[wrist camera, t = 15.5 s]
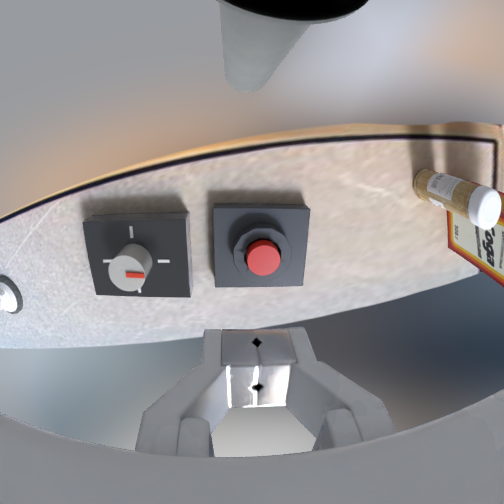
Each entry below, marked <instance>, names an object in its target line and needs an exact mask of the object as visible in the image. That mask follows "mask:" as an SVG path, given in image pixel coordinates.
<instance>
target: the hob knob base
mask: <svg viewBox="0 0 504 504" xmlns="http://www.w3.org/2000/svg"><path fill="white" fill-rule="evenodd" d="M83 228H84V235H85V241H86V247H87V252H88V258H89V263H90V268H91V273H92V277H93V282H94V286H95V291H96V295H111V296H139V297H191V294H192V289H193V276H192V261H191V243H190V222H189V212H167V213H133V214H108V215H92V216H91V217H89V218H88V219H86V220H85V221H84V222H83ZM128 244H138V245H141V246H143V247H144V248H145V249H146V250H147V251H148V252H149V253H150V255H151V258H152V268H151V270H150V272H149V274H148V276H147V278H146V280H145V282H144V284H143V285H142V287H141V288H139V289H138V290H135V291H124V290H122V289H120V288H118V287H117V286H116V285H115V284H114V283H113V282H112V281H111V279H110V276H109V271H108V269H109V264H110V262H111V261H112V260H113V258H114V257H115V256H116V255H117V253H118V252H119V251H120V250H121V249H122V248H123V247H124V246H125V245H128Z"/></svg>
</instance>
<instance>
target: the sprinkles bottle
mask: <svg viewBox="0 0 504 504" xmlns="http://www.w3.org/2000/svg"><path fill="white" fill-rule="evenodd" d="M414 191H415V193H416V195H417V196H418V197H419V198H420V199H422V200H426V201H429V202H431V203H433V204H434V205H437V206H439V207H441V208H444V209H446V210H448V211H450V212H452V213H455V214H458V215H460V216H462V217H464V218H466V219H468V220H470V221H471V222H472V223H473V224H474V225H476V226H478V227H480V228H482V229H485V230H487V229H490V228H492V227H493V226H494V225H495V224H496V223H497V221H498V219H499V216H500V213H501V198H500V196H499V194H498V192H497V191H496V190H494V189H492V188H490V187H487V186H480V185H476V184H473V183H471V182H468V181H466V180H463V179H460V178H457V177H454V176H450V175H447V174H443V173H438V172H434V171H432V170H430V169H423V170H421V171H420V172H419V173H418V174H417V175H416V177H415V180H414Z"/></svg>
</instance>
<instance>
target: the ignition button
mask: <svg viewBox="0 0 504 504" xmlns="http://www.w3.org/2000/svg"><path fill="white" fill-rule="evenodd" d="M246 257H247V264H248V267H249V269H250V270H251V271H252V272H253V273H255V274H257V275H261V276H265V275H269V274H272V273H273V272H275V271H276V270H277V268H278V267H279V265H280V254H279V252H278V249H277V247H276V246H275V244H274V243H272V242H271V241H268V240H257V241H255V242H253V243H252V244H251V245H250V246H249V247H248V249H247V253H246Z"/></svg>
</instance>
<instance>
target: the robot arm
mask: <svg viewBox="0 0 504 504" xmlns="http://www.w3.org/2000/svg"><path fill="white" fill-rule="evenodd" d="M284 405H286V406H285V407H286V408H287V409H288V410H289V411H290V412H291V413H292V414H293V415H294V416H295V417H296V418H297V419H298V420H299V421H300V422H301V423H302V424H303V425H304V426H305V427H306V428H307V429H308V430H309V431H310V432H311V433H312V434H313V435H314V436H315V437H316V438H317V439H316V442H315V444H314V447H313V449H312V451H310V452H302V453H294V454H284V455H272V456H258V457H214V451H213V444H212V438H211V434H212V432H213V431H214V429H215V428H216V426H217V425H218V424H219V422H220V421H221V420H222V418H223V417H224V415H225V414H226V413H227V411H228V410H229V408H239V407H257V406H258V407H259V406H284ZM0 504H504V389H502V390H501V391H499V392H497V393H495V394H493V395H491V396H489V397H487V398H485V399H483V400H481V401H479V402H477V403H475V404H472V405H470V406H468V407H466V408H463V409H461V410H459V411H457V412H454V413H452V414H449V415H447V416H444V417H442V418H439V419H436V420H434V421H431V422H428V423H425V424H423V425H420V426H417V427H414V428H410V429H407V430H404V431H401V432H398V433H397V431H396V429H395V427H394V425H393V422H392V420H391V418H390V416H389V414H388V412H387V410H386V408H385V406H384V404H383V402H382V400H380V399H379V398H377V397H376V396H374V395H373V394H371V393H369V392H368V391H366V390H365V389H363V388H362V387H360V386H359V385H357V384H355V383H354V382H352V381H351V380H349V379H348V378H346V377H345V376H343V375H341V374H340V373H339V372H337V371H336V370H334V369H333V368H331V367H329V366H328V365H326V364H325V363H324V362H322V361H320V362H317V360H316V357H315V355H314V352H313V349H312V346H311V344H310V341H309V338H308V336H307V333H306V330H305V328H304V327H295V328H287V329H265V330H237V329H222V330H221V329H205V331H204V335H203V346H202V355H201V366H195V367H194V368H193V369H191V370H190V371H189V372H188V373H187V374H186V375H185V376H184V377H183V378H182V379H180V380H179V381H178V382H177V383H176V384H175V385H174V386H173V387H172V388H171V389H169V390H168V391H167V392H166V393H165V394H164V395H163V396H162V397H160V398H159V399H158V400H157V401H156V402H155V403H154V404H153V405H151V406H150V407H149V408H148V409H147V410H146V411H144V413H143V416H142V420H141V424H140V429H139V433H138V438H137V443H136V447H135V451H133V450H127V449H121V448H115V447H110V446H105V445H100V444H96V443H91V442H87V441H83V440H79V439H75V438H71V437H67V436H64V435H61V434H57V433H54V432H51V431H48V430H45V429H41V428H39V427H35V426H33V425H30V424H27V423H25V422H22V421H19V420H17V419H14V418H12V417H9V416H7V415H5V414H2V413H0Z"/></svg>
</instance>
